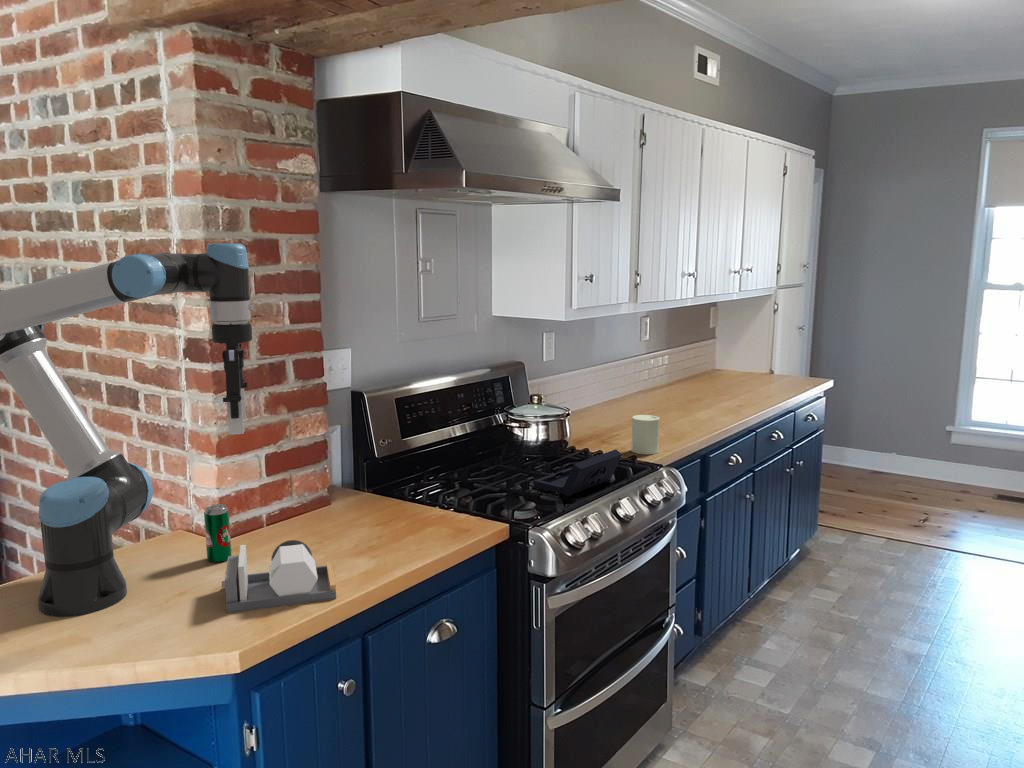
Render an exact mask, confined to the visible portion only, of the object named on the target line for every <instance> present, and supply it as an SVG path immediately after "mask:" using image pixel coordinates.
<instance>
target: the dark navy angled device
mask: <svg viewBox="0 0 1024 768" xmlns="http://www.w3.org/2000/svg"><path fill="white" fill-rule="evenodd" d="M622 456H623V453H622V452H620V451H619V450H617V449H616V448H615V449H614V450H610V451H606V452H605V453H601V454H599V455H593V456H590V457H588V458H587V459H584V460H582V461H579V462H575V463H573V464H572V467H569V468H566V469H563V470H559V471H557V472H554V473H551V474H548V475H546V476H543V477H541V478H538V479H535V480H533V485H532V486H533V489H535V490H540V491H544V492H548V491H551V492H550V493H552V492H557V493H560V494H559V495H564V496H566V497H570V496H572V495H575V494H578V493H580V492H583V491H585V490H588V489H591V488H593V487H595V486H597V485H598V486H599V485H600V484H603V483H606V482H608V481H610V480H611V479H612V477H613V475H614V473H615V471H616V469H617V466H618V464H619V462H620V460H621V457H622Z"/></svg>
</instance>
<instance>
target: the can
mask: <svg viewBox="0 0 1024 768" xmlns="http://www.w3.org/2000/svg"><path fill="white" fill-rule="evenodd" d="M660 421H661V419H660V416H657V415H653V414H652V415H651V414H637V415H632V417H631V425H632V426H631V449H630V452H632V453H633V454H636V455H648V456H649V455H656V454H658V453H659V452H660V450H659V449H660V448H659V446H660V443H659V442H660V439H659V437H660Z"/></svg>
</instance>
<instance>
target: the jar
mask: <svg viewBox="0 0 1024 768" xmlns="http://www.w3.org/2000/svg"><path fill="white" fill-rule="evenodd" d="M312 553H313V552H312V551H311V549H310V547H309V546H308V545H307V544H306V543H304V542H303V541H300V540H295V539H291V540H286V541H284V542H282V543H280V544H279V545H278V546H276V548H275V549H274V550H273V552H272V555H271V562H270V565H269V567H268V568H269V570H268V572H269V582H270V586H271V587H272V589H273V590H274V591H275V593H276V594H277V595H278V597H280V596H288V595H297V594H305V593H310V592H311V591H312V589H313V587H314V585H315V583H316V581H317V580H318V577H317V571H316V567H317V565H316V560H315V559H314V558H313V554H312Z"/></svg>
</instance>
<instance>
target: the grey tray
mask: <svg viewBox="0 0 1024 768" xmlns="http://www.w3.org/2000/svg"><path fill="white" fill-rule="evenodd" d="M238 564H239V555H232V556H228V560H227V561H226V567H225V568H226V569H225V574H224V575H225V576H224V581H225V587H224V589H225V602H226V603H225V608H226V609H225V610H226V613H227V614H231V613H239V612H246V611H247V612H248V611H254V610H261V609H262V610H263V609H268V608H269V609H270V608H276V607H284V606H285V607H286V606H293V605H301V604H307V603H306V602H309V603H314V602H313V601H317V602H324V601H329V600H330V599H332V600H337V588H336V579H335V575H334V569H333V564H332V561H326V563H325V565H321V566H316V571H317V577H318V580H317V581H316V583H315V585H314V587H313V589H312V591H311V592H310V593H305V594H297V595H288V596H280V597H278V595H277V594H276V593H275V591H274V590H273V589H272V587H271V586H270V582H269V571H268V572H267V571H266V572H258V573H250V574H248V590H247V601H240V588H239V586H238V580H239V572H238ZM321 600H322V601H321ZM323 600H324V601H323ZM300 603H301V604H300Z"/></svg>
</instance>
